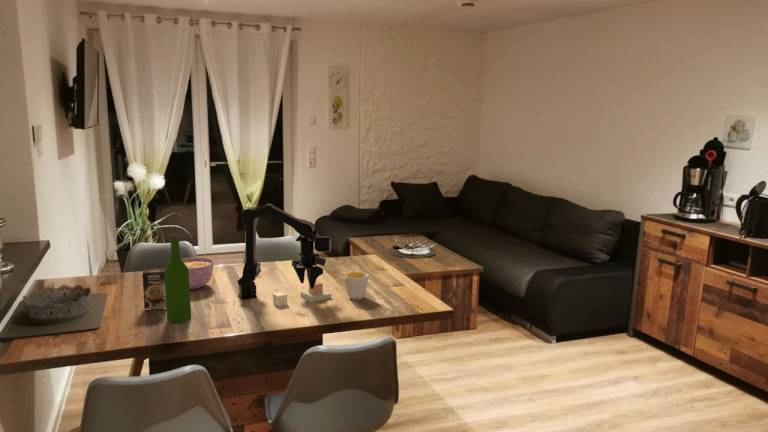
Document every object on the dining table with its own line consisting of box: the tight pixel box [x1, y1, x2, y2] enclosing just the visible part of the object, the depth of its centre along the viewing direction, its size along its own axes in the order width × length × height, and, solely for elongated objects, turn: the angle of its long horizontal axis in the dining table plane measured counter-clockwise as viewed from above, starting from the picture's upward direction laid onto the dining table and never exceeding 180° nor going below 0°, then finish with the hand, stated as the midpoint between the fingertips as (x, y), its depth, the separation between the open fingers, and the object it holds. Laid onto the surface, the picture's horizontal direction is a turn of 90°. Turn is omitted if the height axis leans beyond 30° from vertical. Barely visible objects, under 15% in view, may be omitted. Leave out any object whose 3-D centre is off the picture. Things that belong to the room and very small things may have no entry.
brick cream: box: [272, 291, 288, 307], centre depth 249 cm, size 4×4×4 cm
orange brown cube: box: [308, 280, 324, 295], centre depth 258 cm, size 4×4×4 cm
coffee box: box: [142, 267, 166, 310], centre depth 241 cm, size 9×6×16 cm
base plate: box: [300, 289, 332, 303], centre depth 258 cm, size 10×10×2 cm
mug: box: [344, 271, 369, 301], centre depth 258 cm, size 14×10×10 cm
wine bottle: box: [164, 237, 192, 324], centre depth 227 cm, size 9×9×32 cm
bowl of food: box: [181, 257, 215, 290], centre depth 270 cm, size 20×20×12 cm
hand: (307, 285), depth 255 cm, fingers open, 9 cm apart
